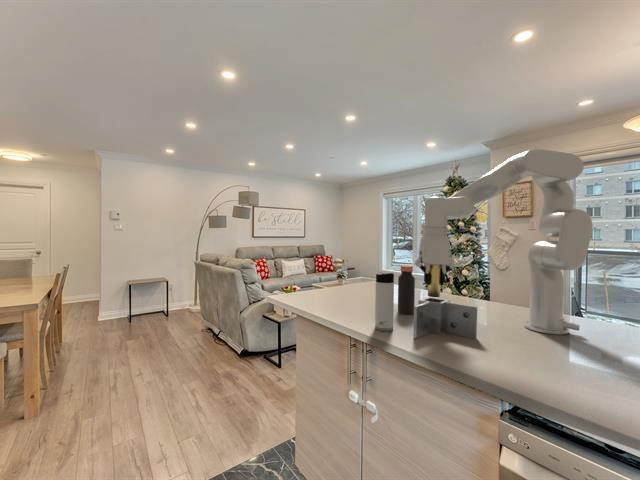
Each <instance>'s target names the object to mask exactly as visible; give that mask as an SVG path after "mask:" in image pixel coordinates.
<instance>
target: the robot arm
mask: <svg viewBox="0 0 640 480" xmlns="http://www.w3.org/2000/svg"><path fill="white" fill-rule="evenodd" d="M584 165H585V164H584V161H583V160H582V159H581V157H579V156H578V155H576V154H573V153H569V152H562V151H557V150H550V149H549V150H548V149H540V148H538V149H537V148H534V149H533V148H531V149H528V150H526V151H524V152H521V153H518V154H516V155H513V156H511V157H510V158H508V159H507V160H505V161H504V162H502V163H501V164H499V165H498V166H496V167H495V168H494V169H492V170H490V171H489V172H487V173H486V174H484V175H482V176H481V177H479V178H478V179H476V180H474V181H473V182H471V183H470V184H468V185H467V186H465V187H463V188H461V189H460V190H458V191H456V192H455V193H454V194H452V195H451V196H449V197H444V196H431V197H427V198H426V199H425V201H424V225H423V226H424V229H423V232H424V233H423V234H424V235H423V236H421V238H420V241H419V242H420V243H419V248H418V257H417V258H416V260H415V262H414V265H415V266H416V267H418V268H419V269H420V270H421V271H422V272H423V282H424V284H425V285H426V286H428V285H430V274H429V270H430V265H434V264H439V265H441V275H440V286H444V283H445V280H446V279H445V278H446V277H445V274H446V273H448V271H449V270H450V269H452V268H454V267H455V265H456V264H455V262H454V261H453V258H452V250H451V249H452V248H451V242H450V237H449V236H448V235H449V234H451V233H452V230H451V229H449V228H448V220H458V219H465V218H467V217H469V216H471V214H473V213H474V211H475V205H477V204H480V203H483V202H484V201H485V202H486V201H488V200H491V199H493V198H495V197H497V196H499V195H501V194H503V193H504V192H506V191H507V190H508V189H509V188H510V189H511V188H512V187H513V186H515V185H516V184H518V183H519V182H521V181H522V180H524V179H526V178H529V177H531V179H532V180H533V182H534V183H535V184H536V185H537V186H538V187H539V189H540V190H541V192H542V194H543V201H542V202H543V204H542V209H541V212H540V218H539V222H538V231H539V232H540V234H541V235H542V236H544V237H547V238H558V240H539V241H536V242H535V243H533V244H532V245H531V246H530V247H529V249H528V253H527V257H528V265H529V271H530V288H529V292H530V293H529V294H530V295H529V320H528V321H525V322H523V323H524V325H523V326H524V328H527V329H528V330H531V331H533V332H537V333H541V334H548V335H557V336H558V335H566V334H569V330H573V331H578V332H579V331H580V327H581V326H580V324H577V323H575V322H574V323H573V322H568V321H566V318H565V317H564V295H565V294H564V292H565V291H564V288H565V280H564V275H563V273H562V271H576V270H577V269H579V268H581V267H582V266H583V265H584V263H585V261H586V258H587V254H588V251H589V246H590V243H591V239H592V238H591V237H592V232H593V220H592V218H591V215H590V214H589V213H587V212H586V211H585V210H583V209H581V208H580V209H579V208H574V202H575V193H574V191H573V189H572V187H571V186H570V185H569V184H568V182H569V181H572V180H575V179H577V178H579V176H581V174H582V173H583V171H584V169H585V166H584Z"/></svg>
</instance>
